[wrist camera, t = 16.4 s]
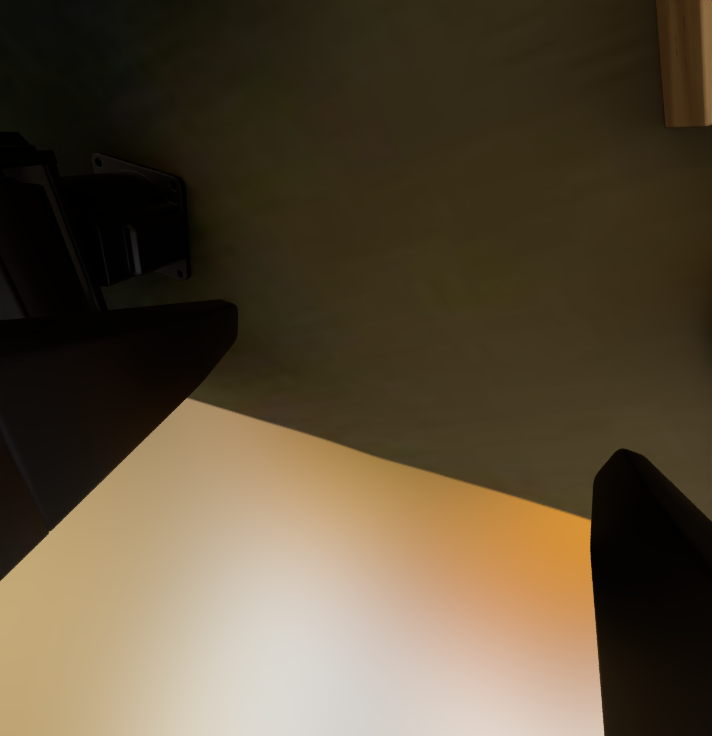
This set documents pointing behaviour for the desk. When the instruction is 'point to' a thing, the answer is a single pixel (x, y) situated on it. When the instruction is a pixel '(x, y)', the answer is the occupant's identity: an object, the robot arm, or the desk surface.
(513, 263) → the desk surface
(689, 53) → the square wooden frame
